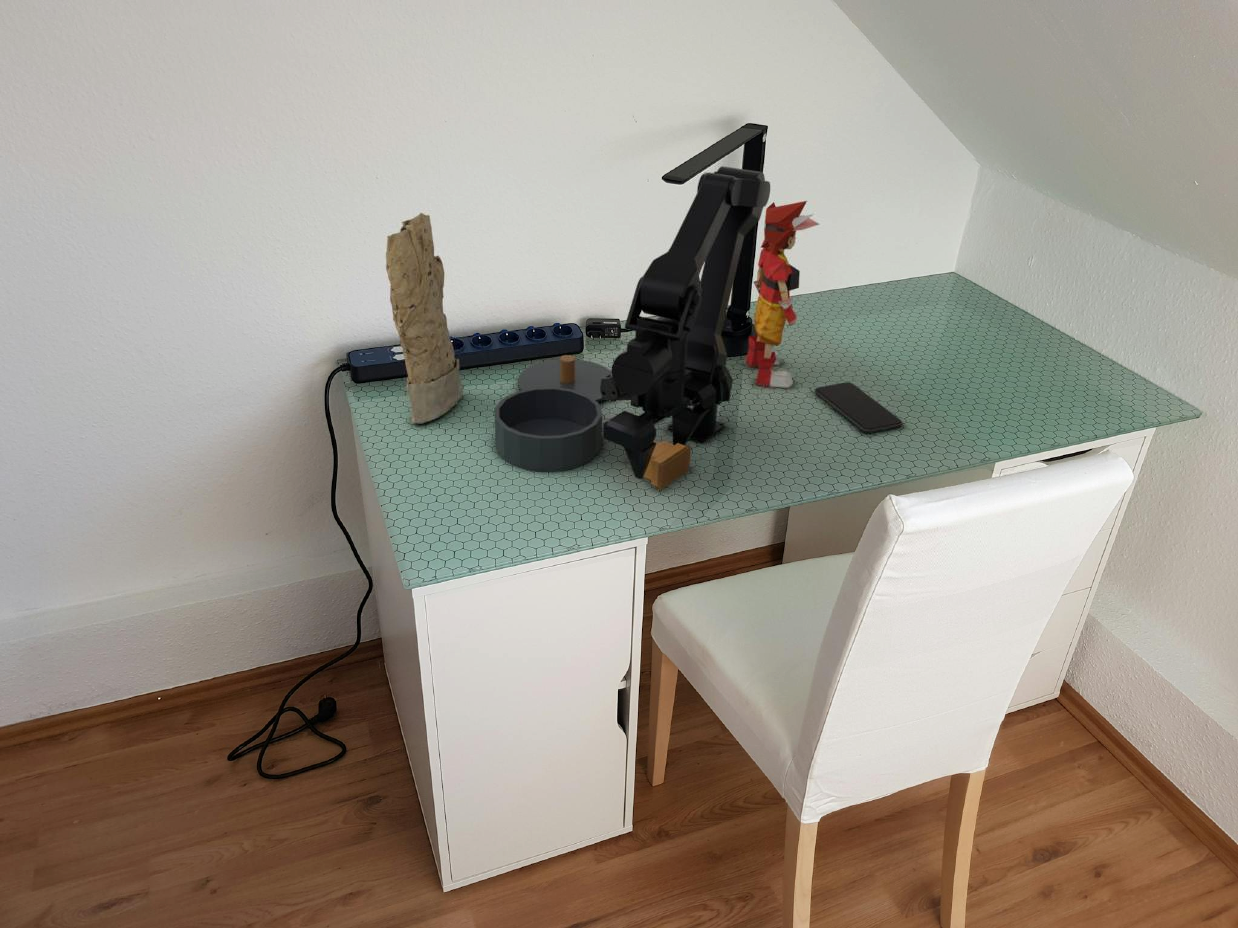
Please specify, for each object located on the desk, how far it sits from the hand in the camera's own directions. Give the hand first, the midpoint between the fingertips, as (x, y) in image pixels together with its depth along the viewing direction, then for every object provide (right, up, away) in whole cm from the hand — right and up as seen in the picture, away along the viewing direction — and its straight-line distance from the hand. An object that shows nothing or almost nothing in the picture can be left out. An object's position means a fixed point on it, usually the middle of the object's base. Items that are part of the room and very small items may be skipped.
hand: (658, 464), depth 138 cm
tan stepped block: (-1, -1, +1) cm, 2 cm away
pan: (-16, +3, +7) cm, 18 cm away
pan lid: (-14, +13, +22) cm, 30 cm away
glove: (-35, +9, +16) cm, 40 cm away
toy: (+20, +15, +29) cm, 38 cm away
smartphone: (+32, +9, +19) cm, 38 cm away
